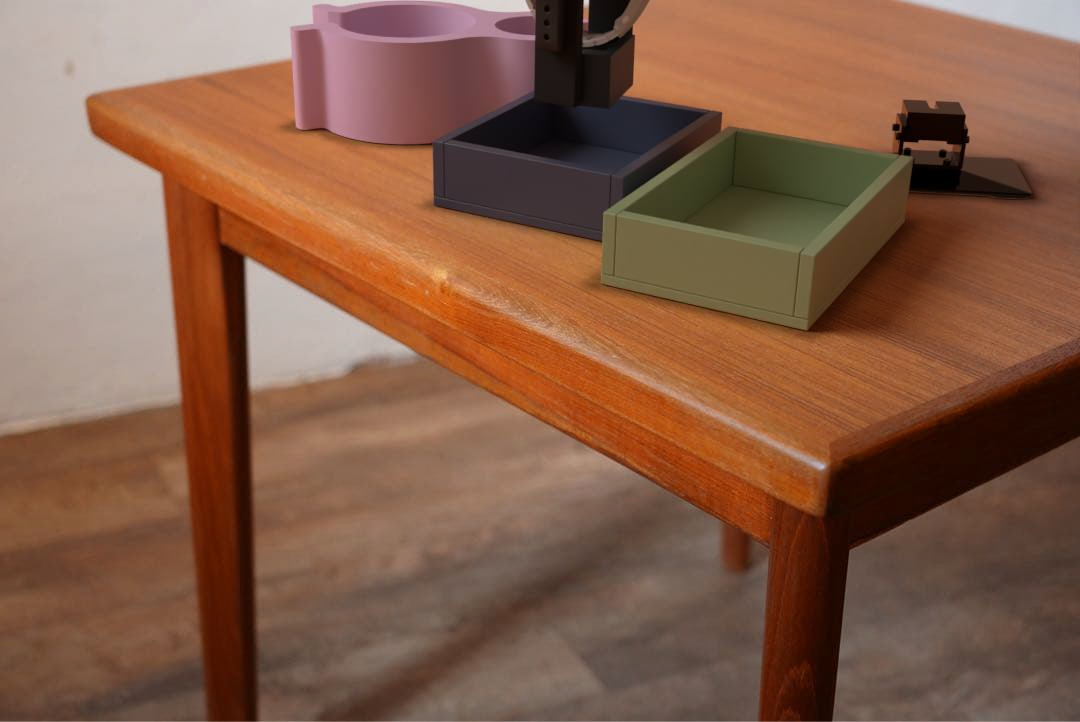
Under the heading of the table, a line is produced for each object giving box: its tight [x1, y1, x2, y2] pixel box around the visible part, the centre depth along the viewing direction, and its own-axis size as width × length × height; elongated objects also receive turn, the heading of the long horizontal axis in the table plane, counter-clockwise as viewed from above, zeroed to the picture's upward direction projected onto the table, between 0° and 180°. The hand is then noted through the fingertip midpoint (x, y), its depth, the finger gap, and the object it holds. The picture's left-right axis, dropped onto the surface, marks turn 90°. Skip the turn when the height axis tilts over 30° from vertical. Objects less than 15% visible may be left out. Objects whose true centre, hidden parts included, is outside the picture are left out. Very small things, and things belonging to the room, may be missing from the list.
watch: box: [525, 0, 650, 109], centre depth 85 cm, size 6×8×11 cm
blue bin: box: [432, 91, 723, 242], centre depth 90 cm, size 13×15×4 cm
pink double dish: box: [289, 0, 588, 145], centre depth 102 cm, size 20×12×7 cm, turn 85°
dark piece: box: [880, 99, 1033, 200], centre depth 93 cm, size 12×7×5 cm, turn 84°
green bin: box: [600, 125, 913, 331], centre depth 81 cm, size 12×18×4 cm, turn 151°
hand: (583, 88), depth 88 cm, fingers closed on watch, 6 cm apart
